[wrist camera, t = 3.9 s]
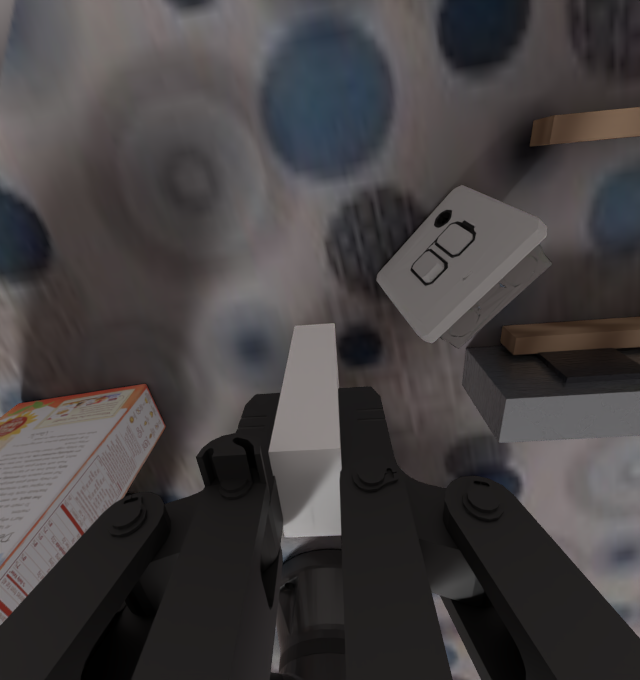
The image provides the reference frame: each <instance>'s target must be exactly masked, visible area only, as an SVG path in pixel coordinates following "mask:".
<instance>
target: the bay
mask: <svg viewBox="0 0 640 680" xmlns="http://www.w3.org/2000/svg"><path fill="white" fill-rule="evenodd" d="M637 136H640V107H634V108H624V109H614V110H604V111H594V112H583V113H573V114H563V115H554V116H550V117H546V118H542V119H538V120H534V121H533V128H532V135H531V141H530V146H541V145H552V144H562V143H573V142H584V141H594V140H605V139H616V138H626V137H637ZM500 342H501V343H502V344H503V345H504V346H505V347H506V348H507V349H508V350H509V351H510V352H511V353H512V354H513V355H522V354H537V353H538V352H552V351H568V350H583V349H599V348H614V349H615V348H631V347H640V317H625V318H610V319H596V320H581V321H567V322H552V323H537V324H523V325H508V326H503V327H502V334H501V340H500Z"/></svg>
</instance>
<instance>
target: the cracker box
mask: <svg viewBox="0 0 640 680" xmlns="http://www.w3.org/2000/svg"><path fill="white" fill-rule="evenodd" d="M165 428H166V426H165V424H164V421H163V419H162V417H161V415H160V413H159V411H158V408H157V406H156V404H155V402H154V400H153V398H152V396H151V393H150V391H149V389H148V387H147V385H146V384H140V385H134V386H128V387H121V388H114V389H108V390H102V391H96V392H89V393H83V394H77V395H70V396H64V397H57V398H51V399H45V400H38V401H32V402H25V403H19V404H18V405H16V406H15V407H14V408H12V409H11V410H10V411H8V412H7V413H6V414H5V415H3V416H2V417H1V418H0V625H1V624H2V623H3V622H4V621H5V620H6V619H7V618H8V617H9V615H10V614H11V613H12V612H13V611H14V610H15V609H16V608H17V607H18V606H19V604H20V603H21V602H22V601H23V600H24V599H25V598H26V597H27V596H28V594H29V593H30V592H31V591H32V590H33V589H34V588H35V587H36V586H37V585H38V583H39V582H40V581H41V580H42V579H43V578H44V577H45V576H46V575H47V574H48V572H49V571H50V570H51V569H52V568H53V567H54V566H55V565H56V564H57V563H58V561H59V560H60V559H61V558H62V557H63V556H64V555H65V554H66V553H67V552H68V550H69V549H70V548H71V547H72V546H73V545H74V544H75V543H76V542H77V541H78V539H79V538H80V537H81V536H82V535H83V534H84V533H85V532H86V531H87V530H88V528H89V527H90V526H91V525H92V524H93V523H94V522H95V521H96V520H97V519H98V517H99V516H100V515H101V514H102V513H103V512H104V511H106V510H107V509H108V508H109V507H110V506H111V505H112V504H114V503H115V502H117V501H119V500H121V499H123V497H124V496H125V494H126V493H127V491H128V489H129V488H130V486H131V484H132V482H133V481H134V479H135V477H136V476H137V474H138V473H139V471H140V469H141V468H142V466H143V464H144V463H145V461H146V459H147V458H148V456H149V454H150V453H151V451H152V449H153V448H154V446H155V444H156V443H157V441H158V439H159V438H160V436H161V434H162V433H163V431H164V429H165Z"/></svg>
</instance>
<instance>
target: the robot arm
mask: <svg viewBox="0 0 640 680" xmlns="http://www.w3.org/2000/svg"><path fill="white" fill-rule="evenodd" d="M196 459H197V462H198V465H199V469H200V472H201V475H202V478H203V481H204V485H205V488H204V490H202V491H200V492H199V493H196V494H194V495H191V496H189V497H186V498H183V499H179V500H176V501H173V502H170V503H167V504H164V503H163V501H162V499H161V498H160V496H159V495H156V494H154V493H152V492H139V493H136V494H132V495H129V496H126V497H124V498H123V499H121V500H119V501H117V502H115V503H114V504H112V505H111V506H110V507H109V508H108V509H107V510H106V511H104V512H103V513H102V514H101V515H100V516H99V517H98V519H97V520H96V521H95V522H94V523H93V524H92V525H91V526H90V527H89V528H88V530H87V531H86V532H85V533H84V534H83V535H82V536H81V537H80V538H79V539H78V541H77V542H76V543H75V544H74V545H73V546H72V547H71V548H70V549H69V550H68V552H67V553H66V554H65V555H64V556H63V557H62V558H61V559H60V560H59V561H58V563H57V564H56V565H55V566H54V567H53V568H52V569H51V570H50V571H49V572H48V574H47V575H46V576H45V577H44V578H43V579H42V580H41V581H40V582H39V583H38V585H37V586H36V587H35V588H34V589H33V590H32V591H31V592H30V593H29V594H28V596H27V597H26V598H25V599H24V600H23V601H22V602H21V603H20V604H19V606H18V607H17V608H16V609H15V610H14V611H13V612H12V613H11V614H10V615H9V617H8V618H7V619H6V620H5V621H4V622H3V623H2V624H1V625H0V680H453V679H452V675H451V671H450V667H449V663H448V659H447V654H446V650H445V646H444V642H443V638H442V634H441V630H440V626H439V621H438V617H437V613H436V609H435V605H434V601H433V597H432V593H435V594H438V595H440V597H441V599H442V601H443V603H444V605H445V607H446V609H447V611H448V613H449V615H450V617H451V619H452V621H453V623H454V625H455V627H456V629H457V631H458V633H459V635H460V637H461V639H462V641H463V643H464V645H465V647H466V650H467V652H468V654H469V656H470V658H471V660H472V662H473V664H474V666H475V668H476V670H477V672H478V674H479V676H480V678H481V680H640V638H639V637H638V636H637V635H636V634H635V632H634V631H633V630H632V629H631V628H630V627H629V626H628V624H627V623H626V622H625V621H624V620H623V619H622V618H621V616H620V615H619V614H618V613H617V612H616V611H615V610H614V608H613V607H612V606H611V605H610V604H609V603H608V602H607V601H606V599H605V598H604V597H603V596H602V595H601V594H600V593H599V591H598V590H597V589H596V588H595V587H594V586H593V585H592V583H591V582H590V581H589V580H588V579H587V578H586V577H585V575H584V574H583V573H582V572H581V571H580V570H579V569H578V568H577V566H576V565H575V564H574V563H573V562H572V561H571V560H570V558H569V557H568V556H567V555H566V554H565V553H564V552H563V550H562V549H561V548H560V547H559V546H558V545H557V544H556V543H555V541H554V540H553V539H552V538H551V537H550V536H549V535H548V533H547V532H546V531H545V530H544V529H543V528H542V527H541V525H540V524H539V523H538V522H537V521H536V520H535V519H534V517H533V516H532V515H531V514H530V513H529V512H528V511H527V510H526V508H525V507H524V506H523V505H522V504H521V503H520V502H519V500H518V499H517V498H516V497H515V496H514V495H513V494H512V493H511V492H510V491H508V490H507V489H506V488H505V487H504V486H503V485H501V484H499V483H497V482H495V481H493V480H491V479H488V478H483V477H479V476H464V477H460V478H458V479H456V480H454V481H452V482H451V483H450V485H449V486H448V487H447V489H446V488H441V487H437V486H432V485H428V484H425V483H421V482H418V481H416V480H414V479H412V478H411V477H409V476H408V475H406V474H405V473H404V472H403V471H402V470H401V469H400V468H399V466H398V465H397V463H396V461H395V458H394V454H393V450H392V445H391V441H390V437H389V432H388V428H387V424H386V420H385V415H384V411H383V406H382V402H381V398H380V395H379V394H378V393H377V392H376V391H375V390H374V389H373V388H372V387H354V388H339V379H338V365H337V351H336V337H335V323H329V324H315V325H300V326H295V327H294V332H293V337H292V342H291V346H290V351H289V356H288V361H287V365H286V370H285V375H284V380H283V385H282V389H281V393H273V394H256V395H255V396H254V397H253V398H252V399H251V400H250V401H249V402H248V403H247V404H246V405H245V408H244V411H243V414H242V419H241V420H240V423H239V425H238V429H237V431H236V433H235V434H229V435H224V436H221V437H219V438H217V439H215V440H212V441H211V442H210V443H208V444H207V445H206V446H204V447H203V448H202V449H201V451H200V452H199V454H198V455H197V456H196ZM282 527H283V530H284V535H285V537H310V536H337V535H341V541H342V551H340V550H318V551H312V552H307V553H304V554H301V555H298V556H296V557H294V558H292V559H290V560H289V561H287V562H286V563H285V564H284V565H282V564H283V558H282V550H281V545H280V543H281V535H282ZM431 592H432V593H431ZM275 627H277V633H278V640H279V646H280V664H279V674H278V673H272V672H271V663H272V654H273V645H274V636H275Z"/></svg>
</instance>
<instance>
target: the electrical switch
mask: <svg viewBox="0 0 640 680" xmlns="http://www.w3.org/2000/svg"><path fill="white" fill-rule="evenodd" d="M546 237H547V226H546V225H545V224H544V223H543V222H542V221H541V220H540V219H539V218H538V217H536V216H533V215H531V214H529V213H526V212H524V211H522V210H519V209H517V208H515V207H512V206H510V205H508V204H505V203H503V202H501V201H499V200H496V199H494V198H492V197H489V196H487V195H485V194H482V193H480V192H478V191H475V190H473V189H471V188H468V187H466V186H464V185H461V186H459V187H456V188H454V189H453V190H452V191H451V192H450V193H449V194H448V195H447V197H446V198H445V199H444V200H443V201H442V202H441V203H440V204H439V206H438V207H437V208H436V209H435V210H434V211H433V212H432V213H431V214H430V216H429V217H428V218H427V219H426V220H425V221H424V222H423V223H422V225H421V226H420V227H419V228H418V229H417V230H416V231H415V232H414V234H413V235H412V236H411V237H410V238H409V239H408V240H407V241H406V243H405V244H404V245H403V246H402V247H401V248H400V249H399V250H398V251H397V253H396V254H395V255H394V256H393V257H392V258H391V259H390V260H389V262H388V263H387V264H386V265H385V266H384V267H383V268H382V269H381V271H380V272H379V273H378V275H377V279H376V280H377V282H378V283H379V285H380V286H381V288H382V289H383V290H384V292H385V293H386V294H387V296H388V297H389V298H390V299H391V301H392V302H393V303H394V305H395V306H396V307H397V309H398V310H399V311H400V313H401V314H402V315H403V317H404V318H405V319H406V321H407V322H408V323H409V325H410V326H411V327H412V329H413V330H414V331H415V333H416V334H417V335H418V336H419V337H420V338H421V339H423V340H424V341H425V342H429V343H434V342H435V341H436V340H437V339H438V338H439V337H440V338H441V339H442V340H445V341H448V342H449V343H451V344H452V345H453V346H455V347H457V348H458V349H459V348H460V347H461V346H463V345H464V344H465V343H466V342H467V341H468V340H469V339H470V338H471V337H472V336H474V335H475V334H476V333H477V332H478V331H479V330H480V329H481V328H482V327H483V326H485V325H486V324H487V323H488V322H489V321H490V320H491V319H492V318H493V317H494V316H496V315H497V314H498V313H499V312H500V311H501V310H502V309H503V308H504V307H505V306H507V305H508V304H509V303H510V302H511V301H512V300H513V299H514V298H515V297H517V296H518V295H519V294H520V293H521V292H522V291H523V290H524V289H525V288H526V287H528V286H529V285H530V284H531V283H532V282H533V281H534V280H535V279H536V278H537V277H539V276H540V275H541V274H542V273H543V272H544V271H545V270H546V269H547V268H548V267H550V266H551V265H552V264H551V261H550V260H549V259H548V258H547V257H546V255H545V254H544V253H543V251H542V247H541V246H540V245H539V243H540V242H541V241H542V240H543V239H545V238H546ZM533 272H534V274H533ZM532 274H533V275H532ZM502 278H503V279H502ZM499 282H500V283H501V284H502V285H504V286H505V287H500V284H499ZM478 306H480V308H481V309H480V308H478ZM469 309H470V310H469ZM477 313H478V314H479V315H478V314H477ZM448 329H449V330H448ZM472 330H473V331H472ZM457 336H459V337H457Z"/></svg>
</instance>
